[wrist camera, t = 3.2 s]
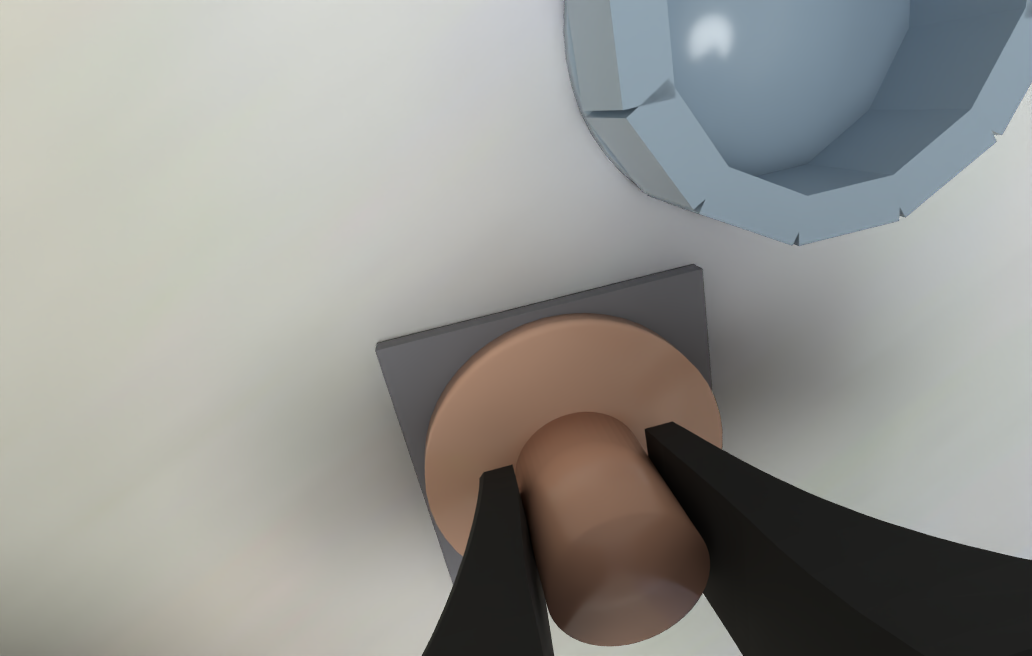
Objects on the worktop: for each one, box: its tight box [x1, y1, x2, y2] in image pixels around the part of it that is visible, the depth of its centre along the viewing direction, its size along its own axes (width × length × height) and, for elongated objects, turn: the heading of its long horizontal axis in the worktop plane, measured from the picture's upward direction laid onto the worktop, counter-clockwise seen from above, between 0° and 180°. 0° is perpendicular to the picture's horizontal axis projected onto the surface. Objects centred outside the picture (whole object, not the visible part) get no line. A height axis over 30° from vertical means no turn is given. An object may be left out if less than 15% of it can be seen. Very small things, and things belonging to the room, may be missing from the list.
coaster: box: [375, 264, 712, 584], centre depth 13 cm, size 7×7×1 cm
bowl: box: [563, 0, 1032, 246], centre depth 9 cm, size 7×7×3 cm
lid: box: [425, 313, 722, 646], centre depth 11 cm, size 7×7×4 cm
